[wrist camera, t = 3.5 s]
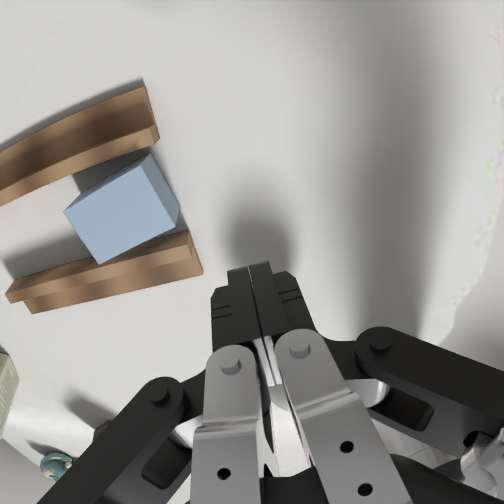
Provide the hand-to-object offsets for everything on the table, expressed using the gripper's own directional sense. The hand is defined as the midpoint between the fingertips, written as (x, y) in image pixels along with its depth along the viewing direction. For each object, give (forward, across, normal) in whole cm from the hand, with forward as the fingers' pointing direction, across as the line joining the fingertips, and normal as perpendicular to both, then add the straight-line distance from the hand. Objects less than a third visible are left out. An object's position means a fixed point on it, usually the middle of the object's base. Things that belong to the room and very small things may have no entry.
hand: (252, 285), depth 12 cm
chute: (+15, +14, 0) cm, 21 cm away
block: (+15, +8, 0) cm, 17 cm away
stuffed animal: (+15, +49, +47) cm, 70 cm away
